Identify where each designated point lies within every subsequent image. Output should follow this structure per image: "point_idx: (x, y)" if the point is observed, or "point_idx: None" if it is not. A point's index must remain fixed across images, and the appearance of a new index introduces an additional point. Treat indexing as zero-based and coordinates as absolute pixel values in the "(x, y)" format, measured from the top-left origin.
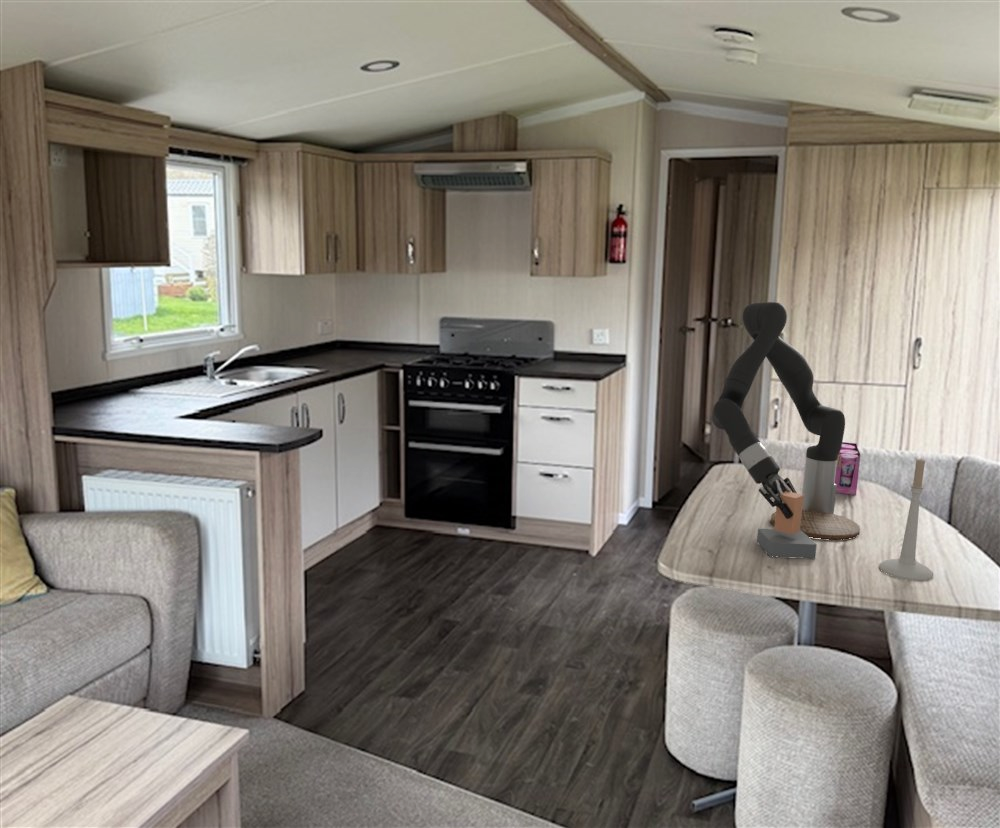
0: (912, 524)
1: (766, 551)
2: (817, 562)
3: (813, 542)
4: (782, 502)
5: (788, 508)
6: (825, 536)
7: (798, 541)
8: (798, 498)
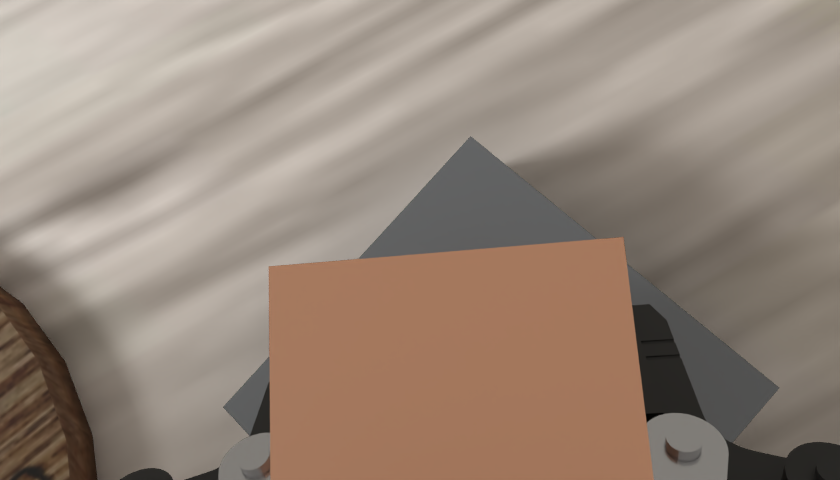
0: None
1: None
2: (525, 128)
3: (444, 177)
4: (722, 440)
5: (639, 345)
6: (30, 336)
7: None
8: (492, 252)
